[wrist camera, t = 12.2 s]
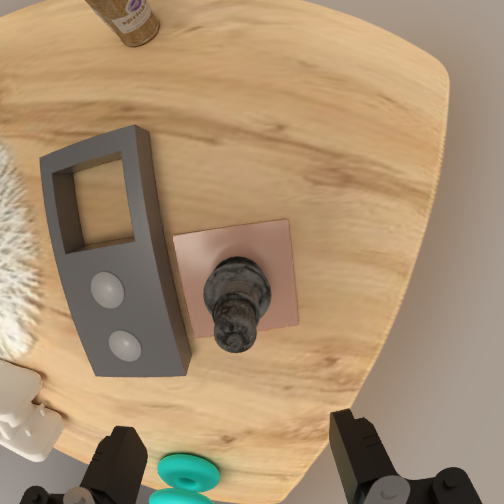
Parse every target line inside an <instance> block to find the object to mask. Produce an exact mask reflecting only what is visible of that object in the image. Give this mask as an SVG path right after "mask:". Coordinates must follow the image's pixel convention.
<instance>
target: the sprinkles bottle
mask: <svg viewBox="0 0 504 504" xmlns="http://www.w3.org/2000/svg"><path fill="white" fill-rule="evenodd" d="M85 1H86V2H87V3H88V4H89V5H90V6H91V8H92V9H93V11H94V12H95V13H96V14H97V15H98V16H99V17H100V18H101V19H102V20H103V21H104V22H105V23H106V24H107V25H108V26H109V28H110V29H111V30H112V31H113V32H115V33H116V34H117V35H118V36H119V37H120V38H121V40H122V42H123V43H124V44H125V45H128V46H138V45H142V44H144V43H146V42H148V41H150V39H152V38H153V37H154V36H155V34H156V33H157V32H158V29H159V21H158V19H157V18H156V17H155V16H154V14H153V12H152V11H151V8H150V6H149V4H148V2H147V1H146V0H85Z"/></svg>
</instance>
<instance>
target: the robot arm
mask: <svg viewBox="0 0 504 504" xmlns="http://www.w3.org/2000/svg"><path fill="white" fill-rule="evenodd" d="M329 440H330V446H331V449H332V452H333V456H334V459H335V462H336V465H337V469H338V472H339V475H340V479H341V482H342V485H343V488H344V492H345V495H346V498H347V502H348V504H482V502H481V500H480V498H479V496H478V494H477V492H476V490H475V489H474V487H473V485H472V483H471V481H470V479H469V477H468V475H467V474H466V472H465V471H464V470H462V469H460V468H457V467H450V468H446V469H444V470H442V471H440V472H439V473H438V474H437V475H436V477H433V478H427V479H420V480H409V479H405V478H403V477H401V476H400V475H399V474H398V473H397V472H396V471H395V469H394V467H393V465H392V462H391V461H390V458H389V456H388V454H387V452H386V450H385V448H384V446H383V444H382V443H381V440H380V438H379V436H378V434H377V432H376V429H375V427H374V425H373V424H372V423H371V422H369V421H368V420H367V419H365V418H364V417H363V418H359V419H354V417H353V415H352V412H351V410H350V409H344V410H340V411H336V412H331V413H330V428H329ZM147 459H148V454H147V450H146V447H145V446H144V444H143V442H142V441H141V439H140V437H139V436H138V434H137V432H136V430H135V429H134V428H133V427H125V426H115V427H114V429H113V431H112V433H111V436H106V437H105V438H104V439H103V440H102V441H101V442H100V443H99V444H98V447H97V449H96V451H95V454H94V455H93V457H92V461H91V462H90V464H89V466H88V469H87V471H86V473H85V475H84V478H83V480H82V482H81V484H80V486H79V487H74V488H71V489H69V490H68V491H67V492H66V493H65V494H49V493H48V492H47V491H46V490H45V489H44V488H42V487H40V486H32V487H30V488H28V489H27V490H26V491H25V493H24V495H23V497H22V499H21V502H20V504H135V503H136V499H137V495H138V492H139V488H140V485H141V481H142V477H143V474H144V470H145V467H146V463H147Z"/></svg>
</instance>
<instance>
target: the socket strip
mask: <svg viewBox="0 0 504 504" xmlns="http://www.w3.org/2000/svg"><path fill="white" fill-rule="evenodd" d="M119 159H122V162H123V170H124V178H125V185H126V192H127V198H128V204H129V210H130V216H131V222H132V227H133V233H134V237H129V238H123V239H118V240H112V241H107V242H102V243H96V244H91V245H86V246H85V245H84V241H83V236H82V231H81V226H80V220H79V214H78V209H77V202H76V196H75V188H74V181H73V173H75V172H78V171H81V170H84V169H88V168H91V167H94V166H97V165H101V164H104V163H108V162H111V161H115V160H119ZM40 171H41V181H42V189H43V197H44V204H45V210H46V216H47V222H48V228H49V233H50V238H51V243H52V247H53V252H54V256H55V260H56V264H57V268H58V272H59V276H60V279H61V283H62V286H63V290H64V293H65V297H66V300H67V303H68V306H69V309H70V312H71V315H72V318H73V321H74V324H75V326H76V329H77V332H78V335H79V337H80V340H81V342H82V345H83V348H84V350H85V352H86V355H87V357H88V360H89V362H90V364H91V367H92V369H93V371H94V373H95V376H101V377H173V376H186V374H187V370H188V367H189V363H190V360H191V356H192V354H191V350H190V346H189V343H188V339H187V335H186V331H185V327H184V323H183V320H182V316H181V311H180V307H179V303H178V299H177V295H176V290H175V286H174V281H173V277H172V272H171V267H170V263H169V258H168V253H167V248H166V242H165V237H164V232H163V226H162V221H161V215H160V209H159V203H158V196H157V190H156V183H155V176H154V169H153V161H152V153H151V145H150V136H149V132H148V131H146V130H144V129H142V128H140V127H138V126H136V125H131V126H128V127H124V128H121V129H118V130H114V131H111V132H108V133H105V134H102V135H98V136H95V137H92V138H90V139H87V140H84V141H81V142H78V143H75V144H73V145H70V146H67V147H65V148H62V149H60V150H57V151H55V152H52V153H50V154H47V155H45V156H43V157H40Z"/></svg>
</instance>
